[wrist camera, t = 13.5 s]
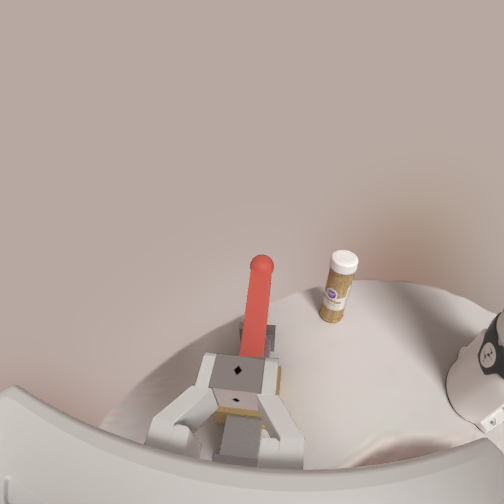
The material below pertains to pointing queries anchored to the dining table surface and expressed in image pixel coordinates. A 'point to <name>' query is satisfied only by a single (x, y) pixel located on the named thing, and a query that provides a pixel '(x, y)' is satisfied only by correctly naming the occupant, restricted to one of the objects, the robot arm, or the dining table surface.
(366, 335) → the dining table surface
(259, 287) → the lever
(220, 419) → the valve body
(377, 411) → the dining table surface
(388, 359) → the dining table surface
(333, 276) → the sprinkles bottle
